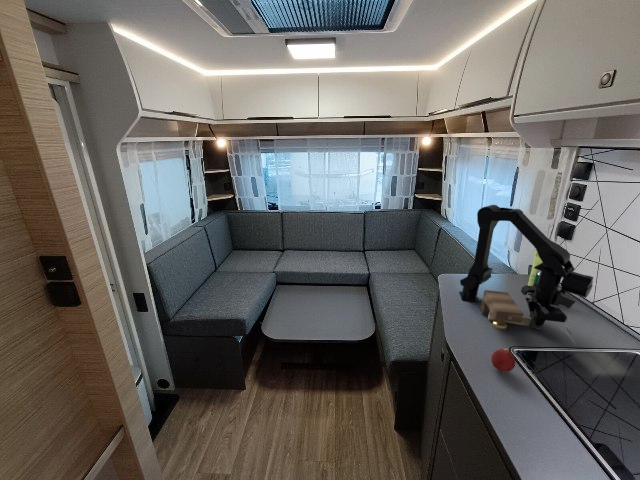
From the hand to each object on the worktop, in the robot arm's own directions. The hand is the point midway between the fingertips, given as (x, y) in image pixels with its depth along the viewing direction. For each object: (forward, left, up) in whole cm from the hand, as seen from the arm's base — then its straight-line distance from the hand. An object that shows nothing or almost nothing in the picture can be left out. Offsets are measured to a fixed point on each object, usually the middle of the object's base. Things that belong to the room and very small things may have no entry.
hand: (535, 322), depth 104 cm
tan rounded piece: (+2, -12, -2) cm, 12 cm away
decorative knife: (+2, +10, -2) cm, 10 cm away
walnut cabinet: (0, -12, -2) cm, 12 cm away
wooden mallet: (0, -7, -1) cm, 7 cm away
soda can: (-22, +10, -2) cm, 24 cm away
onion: (+25, -19, -2) cm, 31 cm away
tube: (-32, +13, -2) cm, 35 cm away
